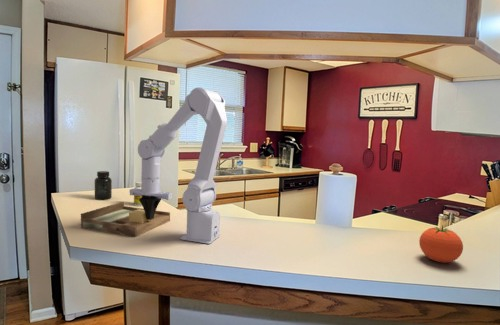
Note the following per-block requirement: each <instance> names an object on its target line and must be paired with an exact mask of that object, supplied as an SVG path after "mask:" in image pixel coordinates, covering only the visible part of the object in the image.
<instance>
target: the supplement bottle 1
mask: <svg viewBox="0 0 500 325" xmlns="http://www.w3.org/2000/svg"><path fill="white" fill-rule="evenodd" d="M112 181H113V180H112V178H111V177H110V171H108V170H100V171H99V170H98V171H96V177H95V179H94V200H97V201H107V200H110V199H112V193H113V192H112V189H113V188H112V186H113V185H112V184H113V182H112Z"/></svg>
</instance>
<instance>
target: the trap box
mask: <svg viewBox="0 0 500 325" xmlns="http://www.w3.org/2000/svg"><path fill="white" fill-rule="evenodd" d="M138 209H141V210H144V208H140V207H135V206H127V205H126V206H125V202H124V201H121V202H117V203H114V204H110V205H107V206H103V207H100V208H96V209H93V210H90V211H86V212H83V213H81V214H80V229H85V230H92V231H99V232H104V233H110V234H115V235H121V236H128V237H134V238H136V237H138V236H140V235H143V234H145V233H147V232H149V231H150V230H153V229H155V228H157V227H159V226H162V225H163V224H166V223H168V222H170V221H171V212H169V211H161V210H156V211H155V215H154V219H151V220H148V221H146V222H143V223H138V222H132V221H129V212H132V211H135V210H138Z"/></svg>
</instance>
